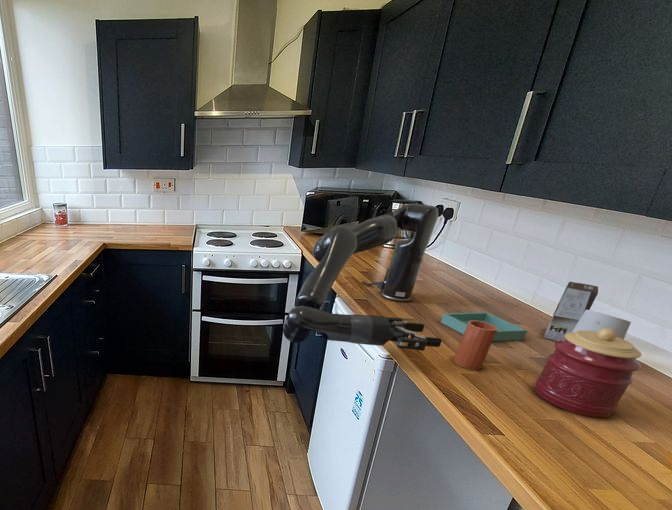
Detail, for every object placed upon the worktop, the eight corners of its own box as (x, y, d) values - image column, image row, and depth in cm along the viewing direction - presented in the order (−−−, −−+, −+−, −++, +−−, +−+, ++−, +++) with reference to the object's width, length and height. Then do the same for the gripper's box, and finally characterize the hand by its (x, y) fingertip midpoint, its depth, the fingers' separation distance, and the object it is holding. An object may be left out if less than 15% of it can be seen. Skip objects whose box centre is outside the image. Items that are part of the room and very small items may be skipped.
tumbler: (448, 358, 105) (462, 320, 100) (467, 357, 106) (482, 320, 101) (466, 370, 100) (482, 330, 95) (486, 369, 101) (503, 329, 96)
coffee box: (572, 345, 115) (599, 293, 108) (543, 337, 119) (567, 287, 113) (573, 336, 121) (599, 286, 114) (545, 329, 125) (568, 280, 118)
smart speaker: (615, 364, 105) (643, 315, 100) (600, 372, 101) (629, 321, 96) (569, 348, 113) (592, 302, 107) (554, 355, 109) (577, 307, 103)
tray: (440, 322, 127) (443, 313, 126) (483, 320, 130) (486, 312, 128) (477, 341, 115) (481, 332, 114) (523, 339, 117) (527, 330, 116)
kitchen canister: (627, 413, 85) (673, 339, 78) (586, 423, 81) (631, 346, 74) (556, 381, 96) (591, 314, 89) (518, 388, 93) (551, 319, 86)
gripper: (352, 331, 110) (413, 336, 109) (371, 355, 97) (441, 361, 96) (358, 305, 107) (422, 310, 106) (379, 328, 94) (451, 333, 93)
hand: (431, 335), depth 101 cm, fingers open, 8 cm apart
